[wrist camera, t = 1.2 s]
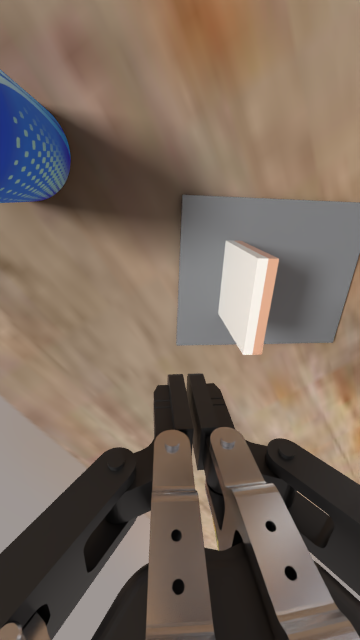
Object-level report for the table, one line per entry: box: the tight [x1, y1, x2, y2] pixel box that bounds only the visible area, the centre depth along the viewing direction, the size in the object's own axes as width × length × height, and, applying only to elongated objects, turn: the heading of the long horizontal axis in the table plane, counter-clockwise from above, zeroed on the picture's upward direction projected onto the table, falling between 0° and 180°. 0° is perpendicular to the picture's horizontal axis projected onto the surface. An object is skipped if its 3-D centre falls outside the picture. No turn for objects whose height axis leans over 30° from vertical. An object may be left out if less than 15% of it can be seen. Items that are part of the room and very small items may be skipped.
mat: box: [176, 195, 360, 345], centre depth 34 cm, size 18×22×1 cm
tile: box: [218, 240, 279, 355], centre depth 29 cm, size 9×2×10 cm, turn 178°
